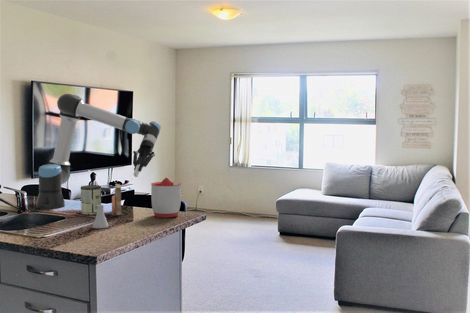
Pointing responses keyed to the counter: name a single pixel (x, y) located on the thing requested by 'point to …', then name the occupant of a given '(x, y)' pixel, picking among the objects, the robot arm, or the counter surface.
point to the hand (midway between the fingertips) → (135, 175)
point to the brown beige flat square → (118, 198)
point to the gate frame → (113, 205)
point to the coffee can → (90, 199)
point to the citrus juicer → (165, 198)
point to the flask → (100, 218)
